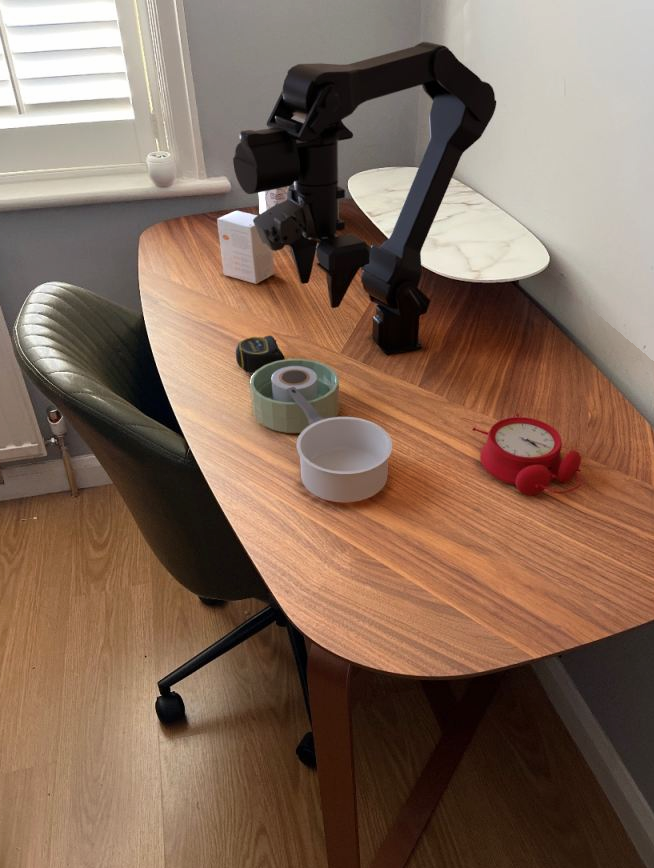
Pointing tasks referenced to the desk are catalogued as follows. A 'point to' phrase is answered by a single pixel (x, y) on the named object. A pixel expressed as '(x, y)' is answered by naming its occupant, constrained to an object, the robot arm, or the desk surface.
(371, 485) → the saucepan
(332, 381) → the bowl
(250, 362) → the tape measure
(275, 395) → the tape roll
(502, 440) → the alarm clock
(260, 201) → the mug
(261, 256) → the small box
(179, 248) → the desk surface
